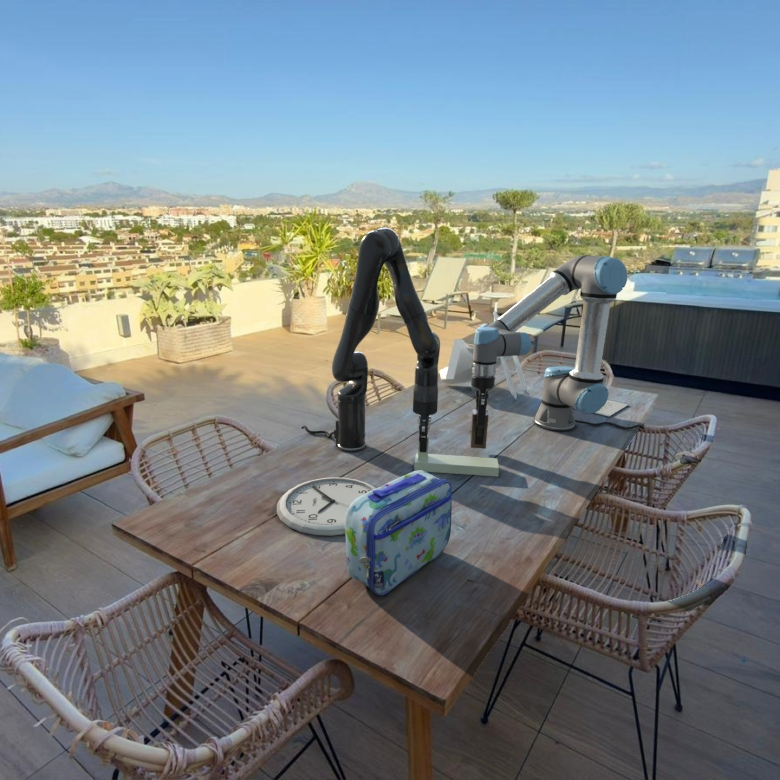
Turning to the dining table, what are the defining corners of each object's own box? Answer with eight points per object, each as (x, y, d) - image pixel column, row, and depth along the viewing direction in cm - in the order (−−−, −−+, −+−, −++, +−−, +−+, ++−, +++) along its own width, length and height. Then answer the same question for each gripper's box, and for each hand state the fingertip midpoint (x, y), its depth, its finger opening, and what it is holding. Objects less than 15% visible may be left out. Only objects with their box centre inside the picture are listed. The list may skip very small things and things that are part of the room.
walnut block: (484, 443, 181) (487, 410, 177) (485, 448, 176) (488, 415, 172) (470, 442, 181) (472, 409, 178) (470, 447, 176) (473, 414, 173)
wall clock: (392, 527, 129) (268, 531, 127) (391, 533, 130) (269, 537, 127) (383, 473, 158) (282, 475, 155) (383, 478, 158) (282, 480, 156)
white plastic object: (461, 429, 252) (437, 405, 227) (444, 352, 274) (420, 323, 250) (535, 404, 240) (518, 377, 215) (510, 326, 262) (492, 293, 237)
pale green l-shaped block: (496, 466, 168) (499, 435, 164) (498, 476, 161) (501, 443, 158) (415, 461, 170) (416, 430, 167) (414, 470, 164) (415, 438, 161)
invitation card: (608, 416, 214) (573, 407, 224) (608, 416, 214) (573, 408, 224) (628, 404, 229) (594, 396, 238) (628, 405, 229) (594, 397, 238)
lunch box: (373, 608, 104) (374, 515, 98) (339, 582, 112) (337, 495, 105) (455, 554, 122) (460, 473, 116) (421, 535, 129) (424, 458, 123)
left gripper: (414, 389, 167) (413, 439, 172) (411, 404, 154) (409, 457, 159) (438, 391, 166) (436, 441, 171) (437, 405, 153) (434, 459, 158)
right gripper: (471, 367, 180) (466, 430, 187) (472, 382, 163) (467, 450, 170) (493, 368, 179) (488, 431, 186) (497, 383, 162) (491, 452, 169)
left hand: (423, 448), depth 165 cm, fingers closed on pale green l-shaped block, 4 cm apart
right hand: (478, 440), depth 178 cm, fingers closed on walnut block, 5 cm apart
